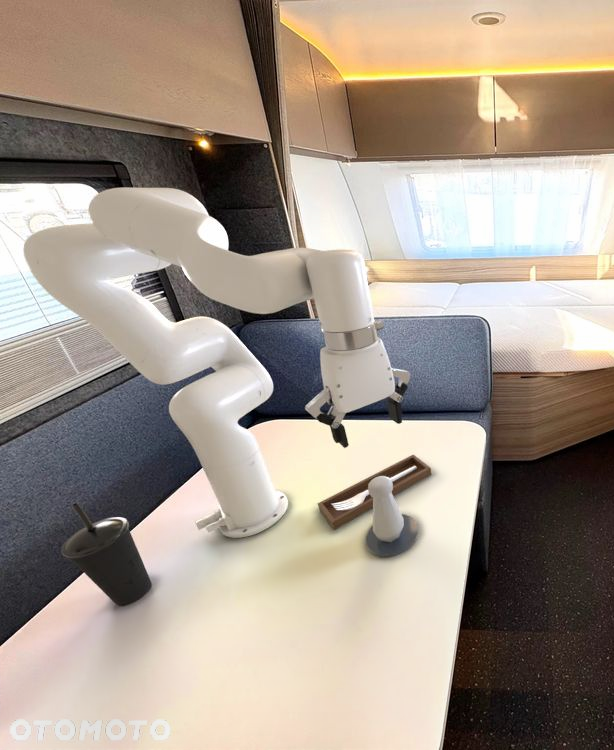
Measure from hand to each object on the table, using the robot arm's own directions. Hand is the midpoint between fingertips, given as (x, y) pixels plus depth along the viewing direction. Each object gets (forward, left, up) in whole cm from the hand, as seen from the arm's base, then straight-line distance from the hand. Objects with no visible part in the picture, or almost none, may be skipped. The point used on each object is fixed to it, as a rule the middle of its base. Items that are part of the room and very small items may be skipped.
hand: (370, 431), depth 65 cm
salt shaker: (0, 0, -24) cm, 24 cm away
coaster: (0, 0, -24) cm, 24 cm away
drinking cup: (-38, +21, -24) cm, 50 cm away
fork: (+4, +13, -24) cm, 28 cm away
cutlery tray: (+4, +13, -24) cm, 28 cm away
